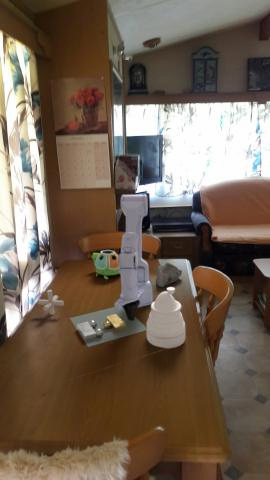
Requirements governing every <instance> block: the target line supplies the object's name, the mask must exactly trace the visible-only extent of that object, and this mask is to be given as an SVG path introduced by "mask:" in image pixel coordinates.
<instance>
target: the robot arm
mask: <svg viewBox="0 0 270 480" xmlns="http://www.w3.org/2000/svg"><path fill="white" fill-rule="evenodd" d="M120 196H121V197H120V208H121V210H122V213H123V214H124V216H125V233H123V234H122V236H121V246H120V253H119V254H118V267H119V273H120V274H121V275H120V284H121V285H120V287H121V293H120V294H119V296H120V297H119V299H117V301H116V302H114V307H115V308H116V309H121V307H123V308H124V310H125V312H126V315H127V318H128V320H131V321H133V320H134V319H135V317H136V313H137V310H138V308H141V307H145V306H149V305H150V306H151V304H152V303H153V302H154V301H153V298H154V297H153V286H152V282H151V281H150V280H149V279H150V270H149V263H148V262H147V261H146V259H143V257H142V256H143V255H142V254H143V252H142V250H143V248H142V247H143V245H142V244H143V243H142V242H143V235H142V233H143V230H142V228H143V227H142V226H143V223H142V222H143V219H144V217H146V216H148V209H149V208H148V207H149V206H148V205H149V203H148V201H149V200H148V199H149V198H148V195H147V194H146V193H144V194H122V195H120Z"/></svg>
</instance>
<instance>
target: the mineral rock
mask: <svg viewBox="0 0 270 480" xmlns="http://www.w3.org/2000/svg"><path fill="white" fill-rule="evenodd" d="M156 268H157V269H156V279H155V284H156V285H157V286H158V287H161V288H163V287H166V286H168V285H170V284H173V282H177V281H178V280H179V279H180V277H181V276H182V274H183V270H181V269H180V268H178V267H177V266H176V265H174V264H172V263H169V262H166V263H165V264H163V265H160V266H157V267H156Z"/></svg>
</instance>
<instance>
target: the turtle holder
mask: <svg viewBox="0 0 270 480" xmlns="http://www.w3.org/2000/svg"><path fill="white" fill-rule="evenodd" d="M118 256H119V254H117V252H115V251H114V250H111V249H106V250H101V251H100V253H99V252H93V253H92V255H91V259H92V260H93V264H94V266H95V272H96V273H95V274H96V275H95V276H96V277H99V276H101V275H102V276H103V278H104V280H109V277H108V276H115V275H119V276H121V274H120V273H119V267H118Z"/></svg>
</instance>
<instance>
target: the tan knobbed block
mask: <svg viewBox="0 0 270 480" xmlns="http://www.w3.org/2000/svg"><path fill="white" fill-rule="evenodd" d="M103 325H104V327H105V328H106V329H110V328H112V329H113V330H114V331H115V332H116V333H117V332H121V331H124V330H126V324H125V323H124V322H123V321H122V320H121V319H120V318H119V316H118V315H117V314H115V315H111V316H107V317H106V321H105V322H104V323H103Z"/></svg>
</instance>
